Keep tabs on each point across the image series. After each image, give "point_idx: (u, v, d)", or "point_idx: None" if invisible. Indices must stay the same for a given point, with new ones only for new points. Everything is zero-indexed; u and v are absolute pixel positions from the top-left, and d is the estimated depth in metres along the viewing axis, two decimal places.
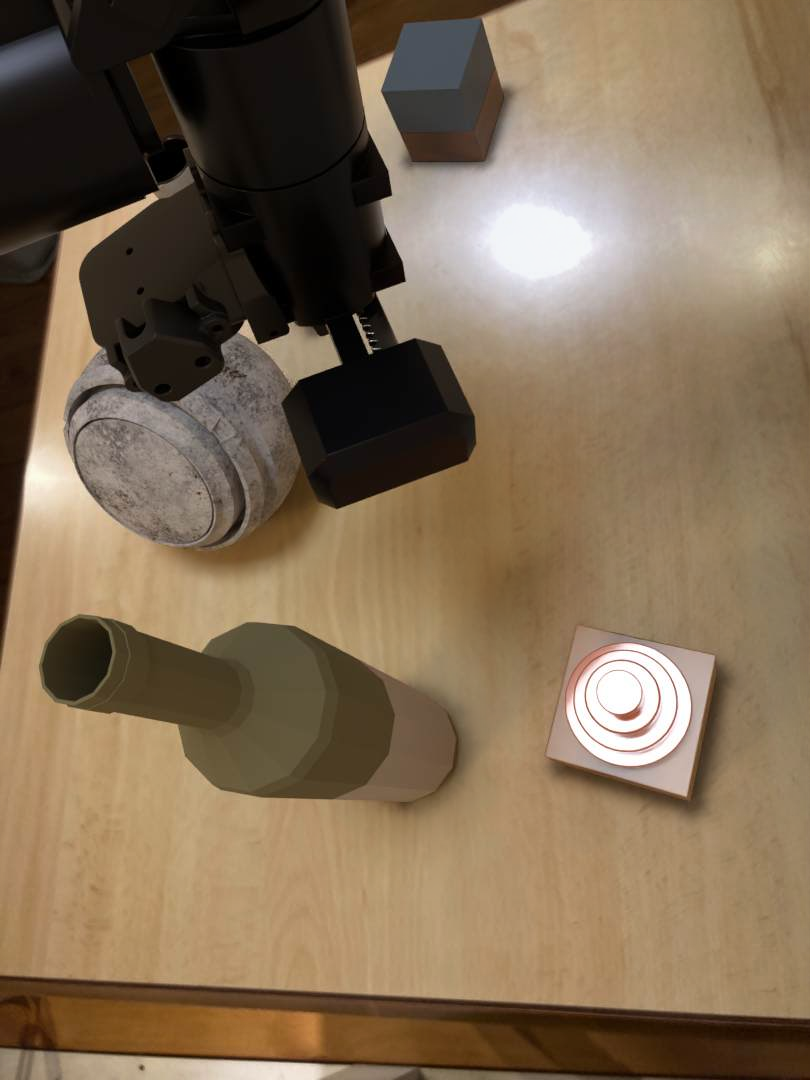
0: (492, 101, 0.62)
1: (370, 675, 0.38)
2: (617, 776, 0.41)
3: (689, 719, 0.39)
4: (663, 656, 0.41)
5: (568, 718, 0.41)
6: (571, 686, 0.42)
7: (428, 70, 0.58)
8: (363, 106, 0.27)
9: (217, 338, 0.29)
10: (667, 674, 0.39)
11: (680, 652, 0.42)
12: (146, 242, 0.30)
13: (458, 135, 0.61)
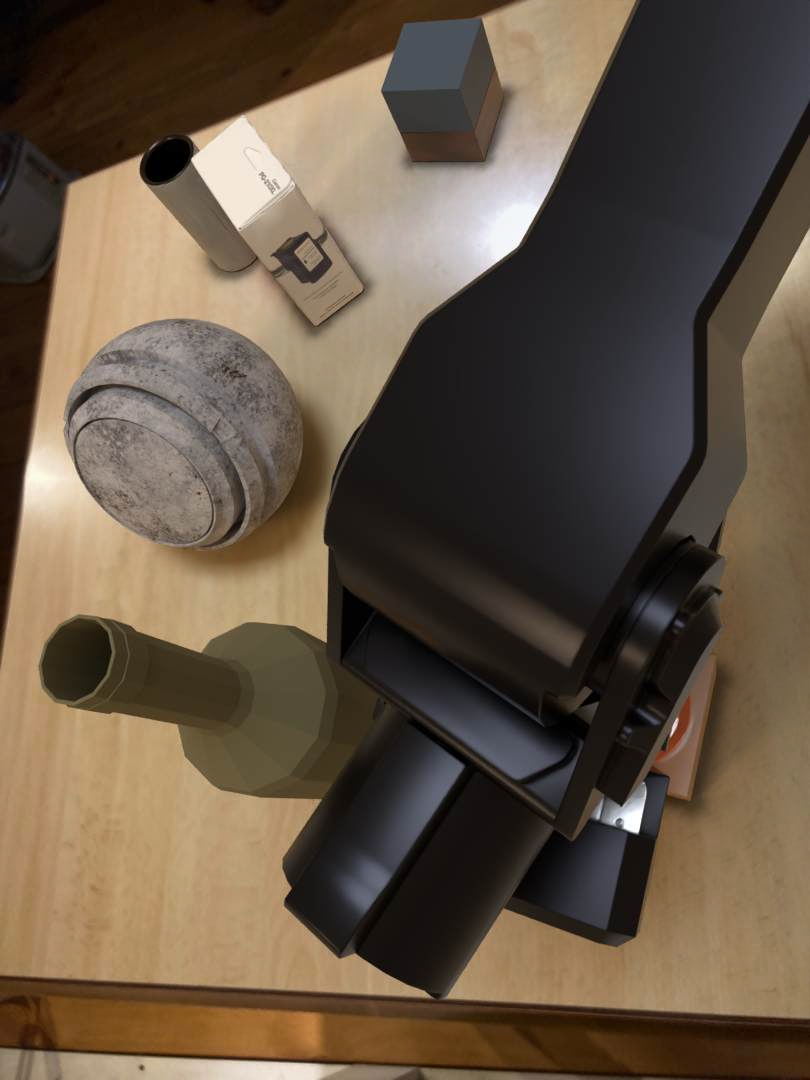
0: (492, 101, 0.62)
1: None
2: None
3: (689, 719, 0.39)
4: None
5: None
6: None
7: (428, 70, 0.58)
8: None
9: None
10: None
11: None
12: None
13: (458, 135, 0.61)
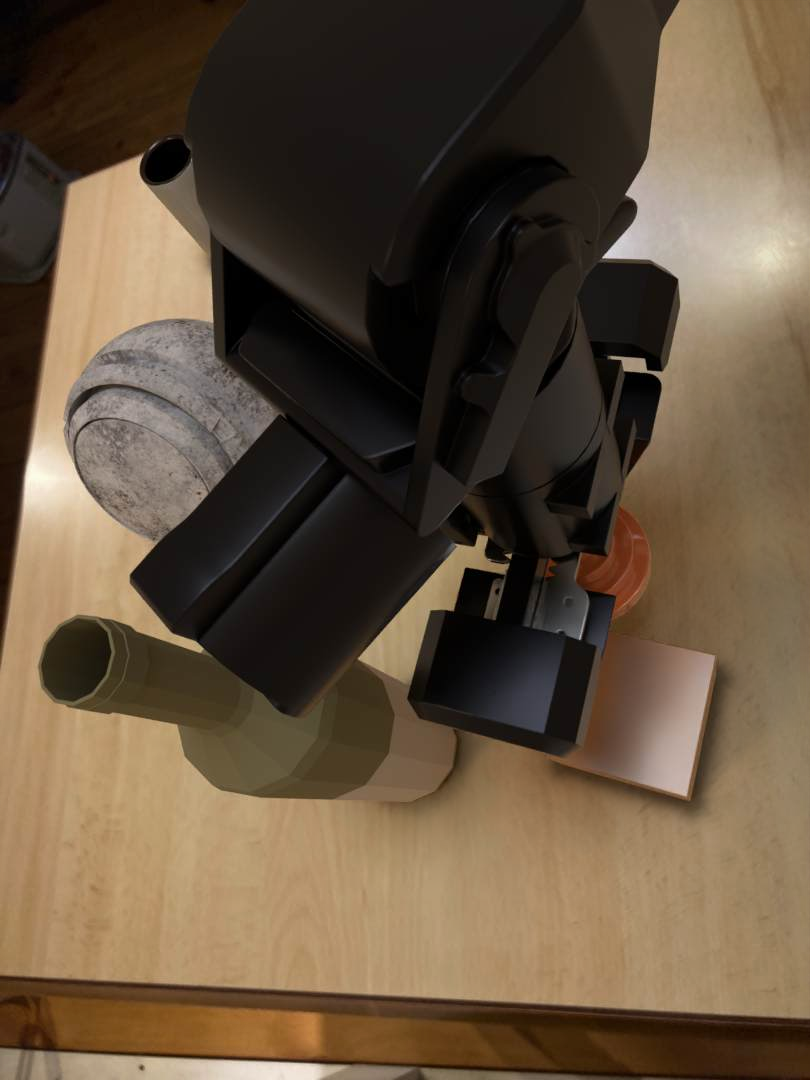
0: None
1: (370, 675, 0.38)
2: (617, 776, 0.41)
3: (646, 568, 0.38)
4: (620, 508, 0.39)
5: None
6: None
7: None
8: (595, 432, 0.24)
9: None
10: (622, 521, 0.38)
11: (680, 652, 0.42)
12: None
13: None
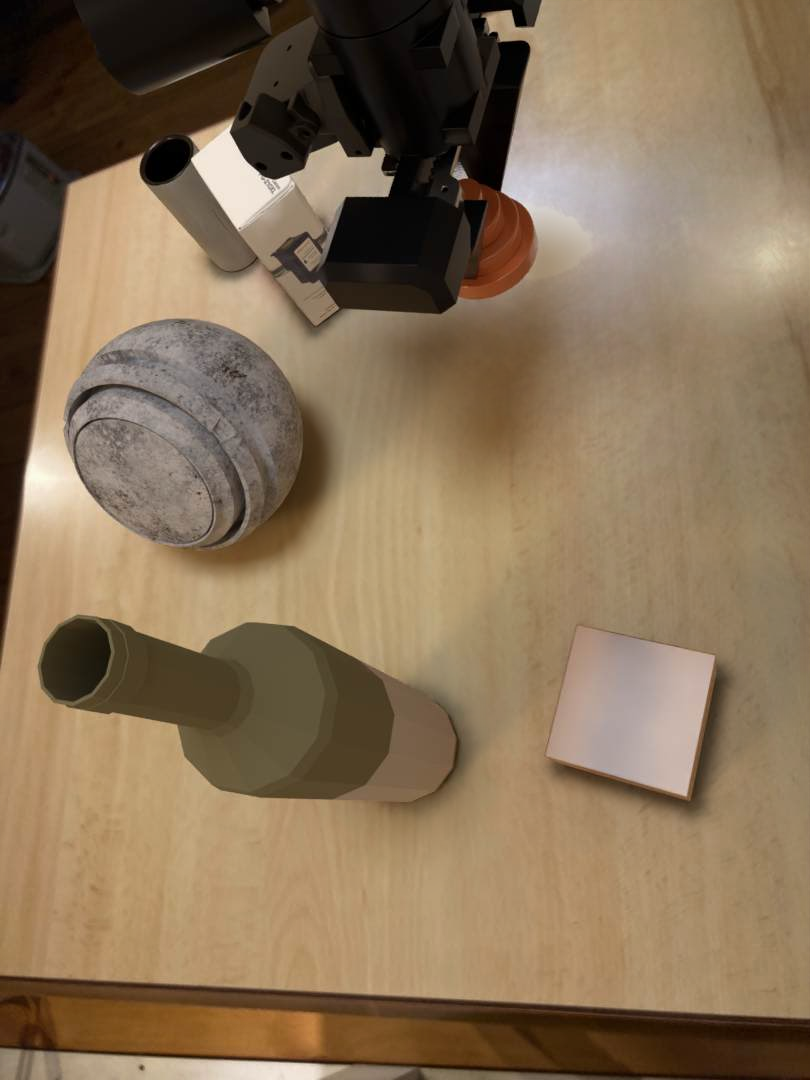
0: None
1: (370, 675, 0.38)
2: (617, 776, 0.41)
3: (531, 241, 0.45)
4: (511, 200, 0.46)
5: None
6: None
7: None
8: None
9: (306, 141, 0.37)
10: (510, 200, 0.45)
11: (680, 652, 0.42)
12: (299, 44, 0.37)
13: None
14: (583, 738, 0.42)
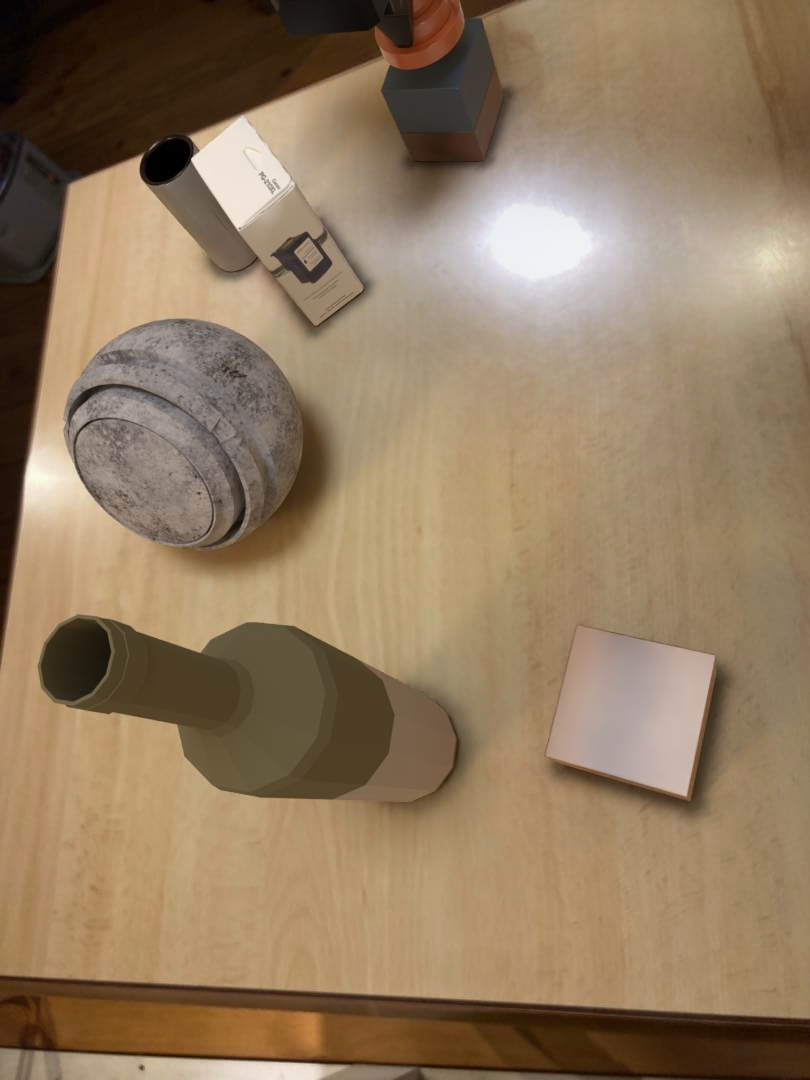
0: (492, 101, 0.62)
1: (370, 675, 0.38)
2: (617, 776, 0.41)
3: (457, 15, 0.55)
4: None
5: (376, 37, 0.56)
6: None
7: (428, 70, 0.58)
8: None
9: None
10: None
11: (680, 652, 0.42)
12: None
13: (458, 135, 0.61)
14: (583, 738, 0.42)
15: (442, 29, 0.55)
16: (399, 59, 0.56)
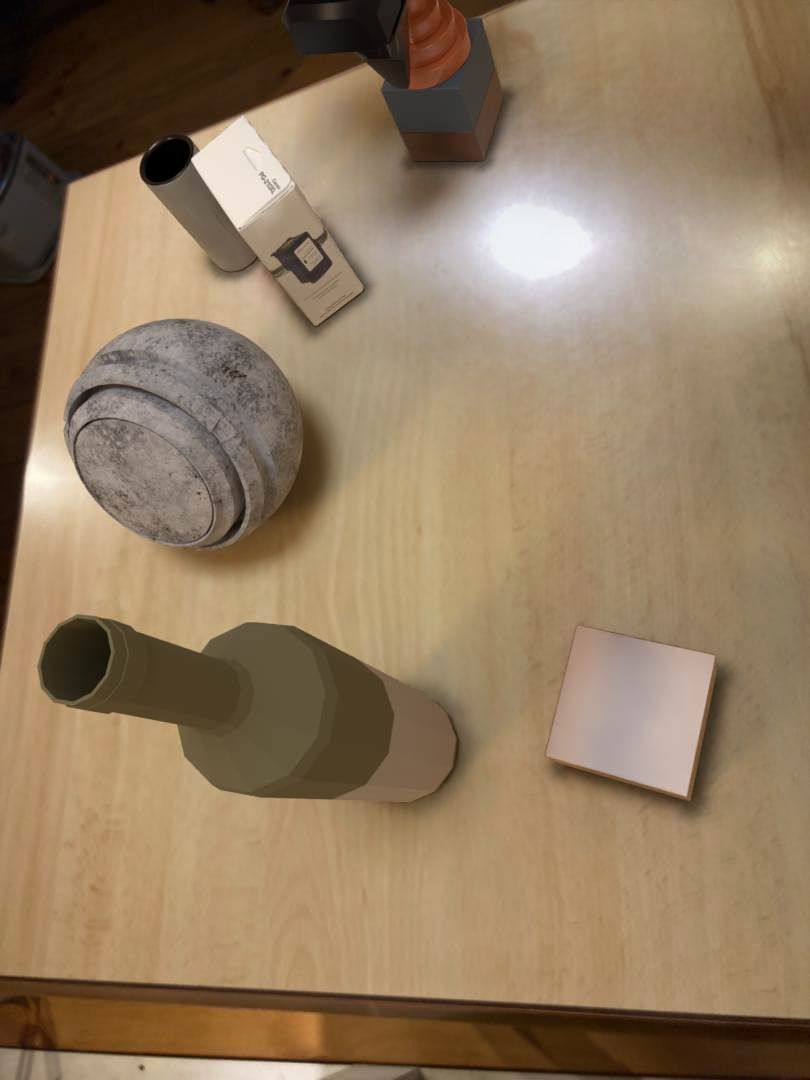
0: (492, 101, 0.62)
1: (369, 675, 0.38)
2: (617, 776, 0.41)
3: (463, 37, 0.56)
4: None
5: None
6: None
7: None
8: None
9: None
10: (447, 3, 0.56)
11: (680, 652, 0.42)
12: None
13: (458, 135, 0.61)
14: (583, 738, 0.42)
15: (449, 51, 0.56)
16: None
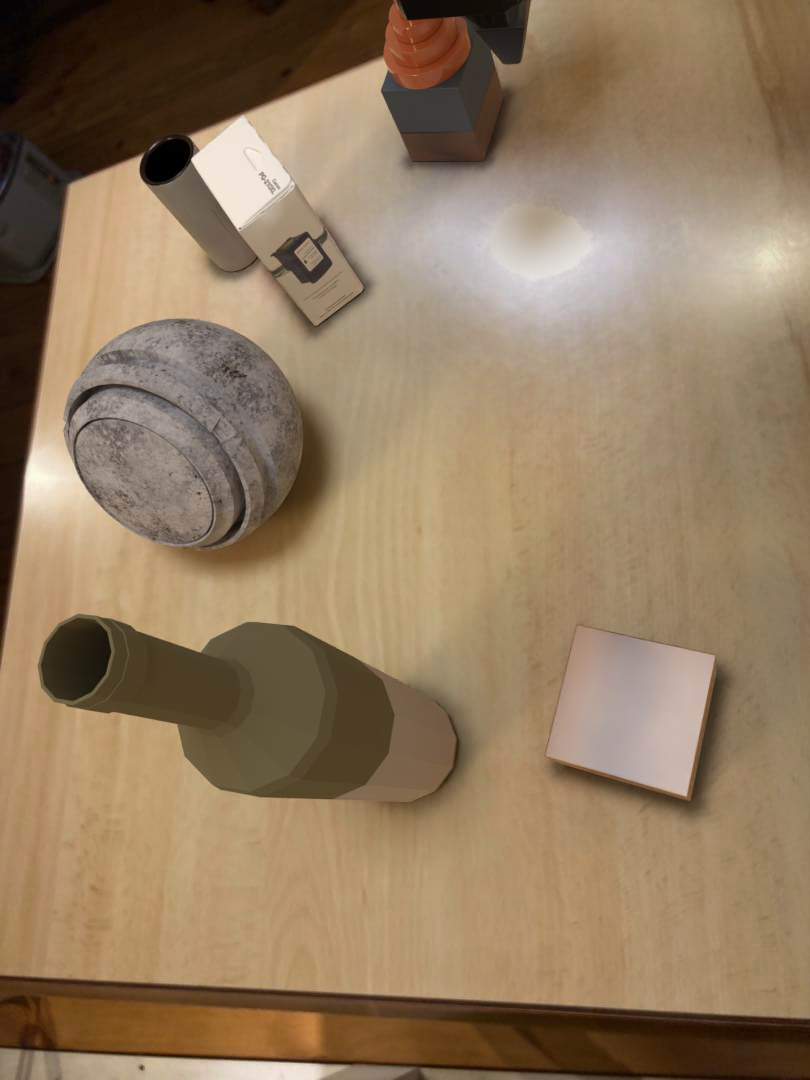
0: (492, 101, 0.62)
1: (370, 675, 0.38)
2: (617, 776, 0.41)
3: (463, 37, 0.56)
4: None
5: (385, 58, 0.58)
6: None
7: None
8: None
9: None
10: None
11: (680, 652, 0.42)
12: None
13: (458, 135, 0.61)
14: (583, 738, 0.42)
15: (449, 51, 0.56)
16: (407, 80, 0.57)
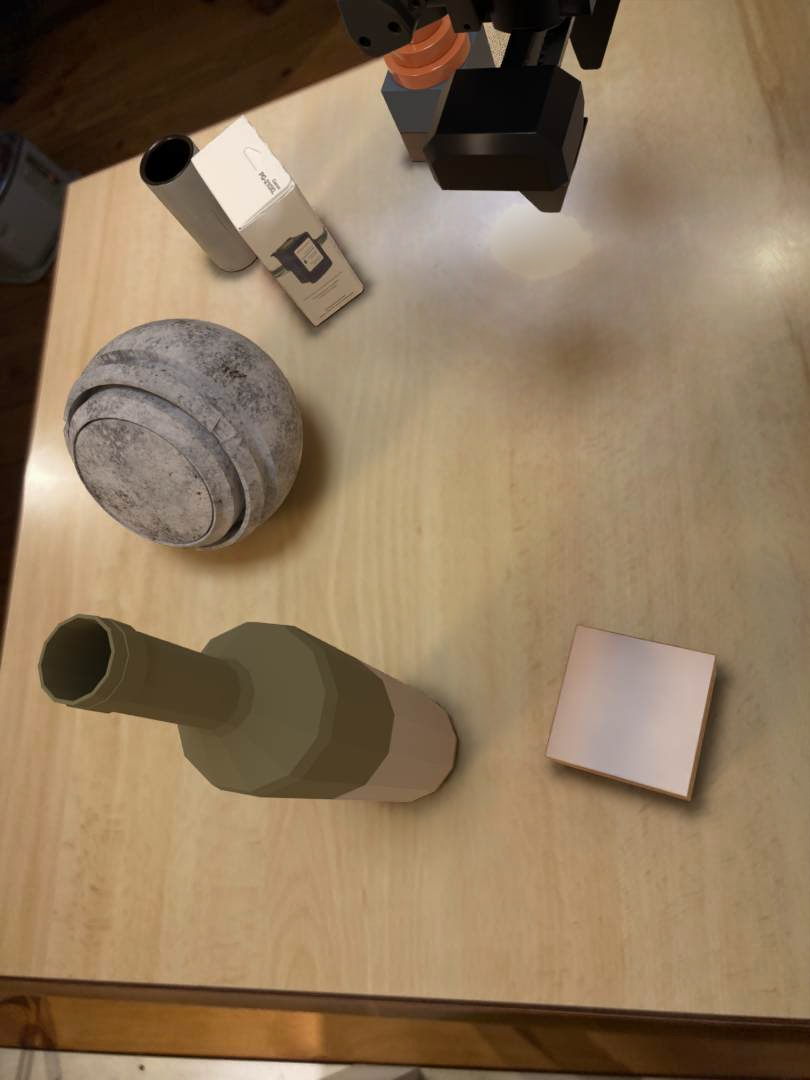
0: None
1: (370, 675, 0.38)
2: (617, 776, 0.41)
3: (463, 37, 0.56)
4: None
5: (385, 58, 0.58)
6: None
7: None
8: None
9: (414, 12, 0.36)
10: None
11: (680, 652, 0.42)
12: None
13: None
14: (583, 738, 0.42)
15: (449, 51, 0.56)
16: (407, 80, 0.57)
